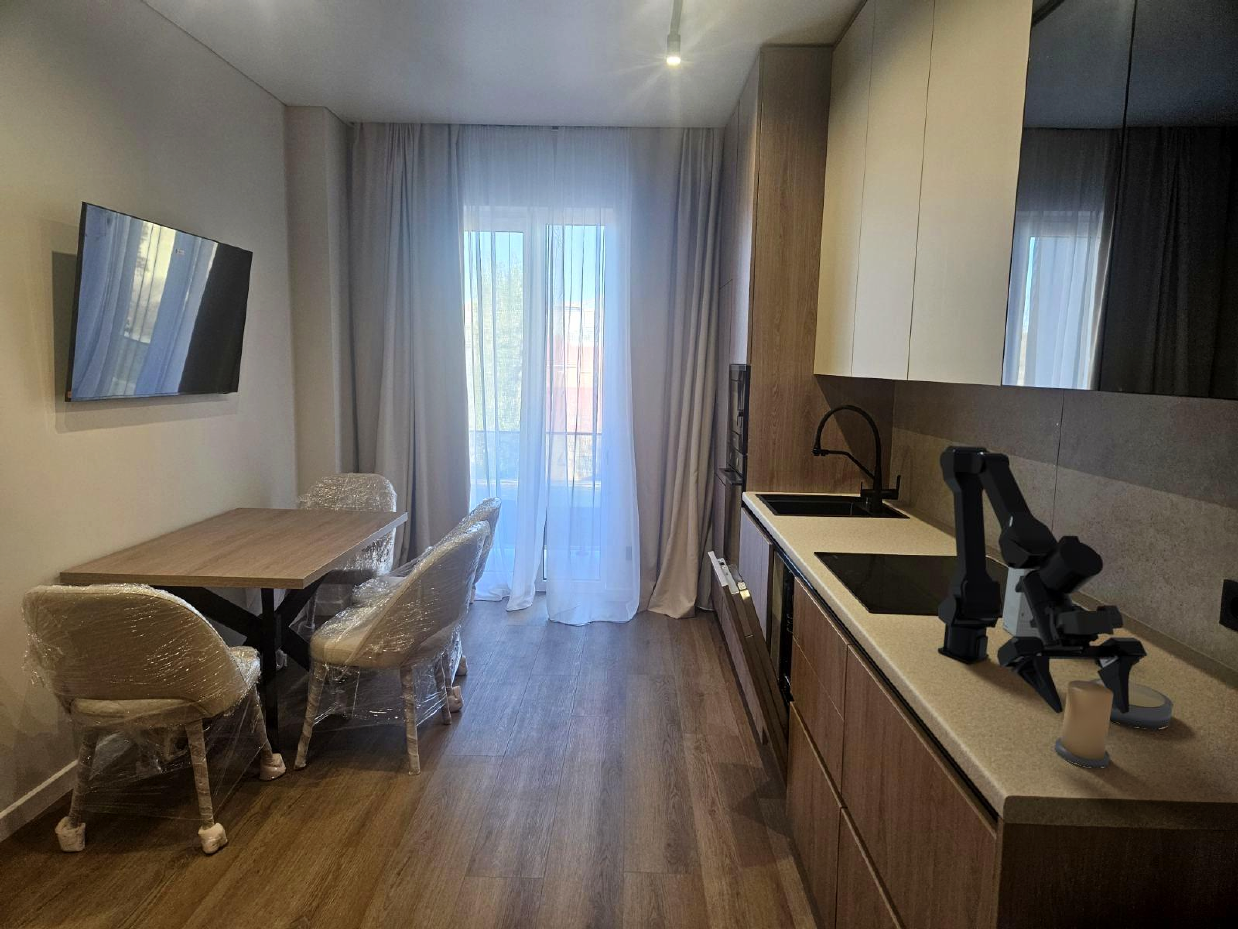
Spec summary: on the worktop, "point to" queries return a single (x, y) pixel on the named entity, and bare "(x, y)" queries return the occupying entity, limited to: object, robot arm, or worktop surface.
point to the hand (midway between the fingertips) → (1092, 713)
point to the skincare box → (1017, 607)
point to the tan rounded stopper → (1086, 724)
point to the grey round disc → (1142, 708)
